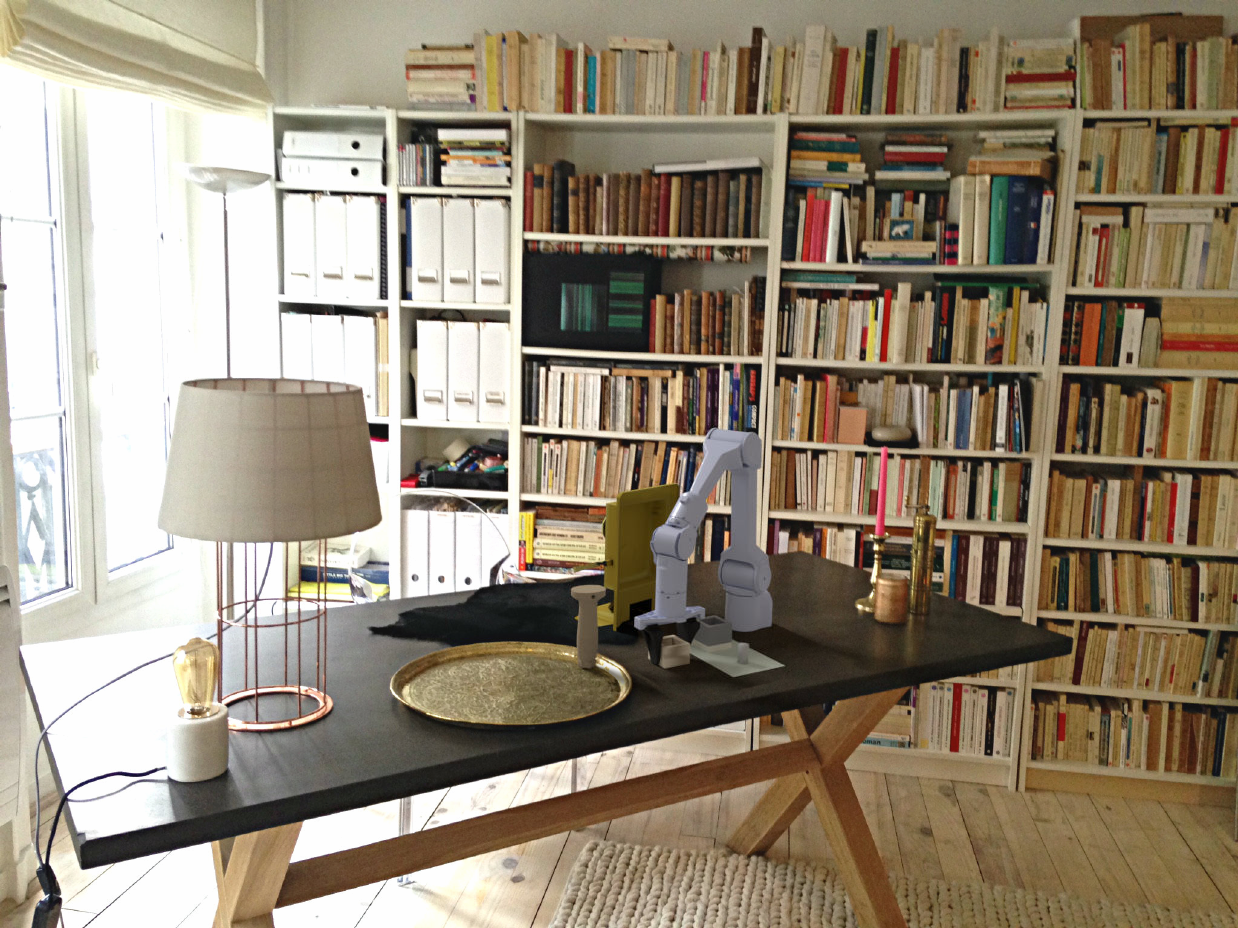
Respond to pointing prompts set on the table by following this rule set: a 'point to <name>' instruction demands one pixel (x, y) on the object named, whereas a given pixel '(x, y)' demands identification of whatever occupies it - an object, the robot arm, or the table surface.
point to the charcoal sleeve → (713, 634)
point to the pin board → (736, 659)
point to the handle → (587, 622)
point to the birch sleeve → (674, 652)
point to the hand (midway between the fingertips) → (668, 659)
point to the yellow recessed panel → (632, 550)
